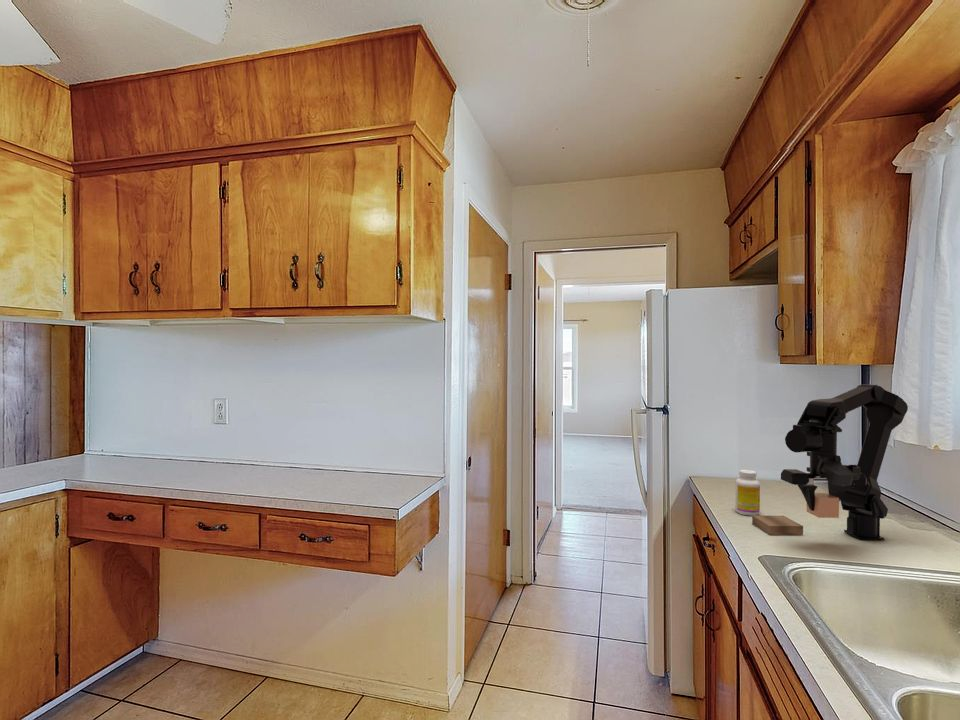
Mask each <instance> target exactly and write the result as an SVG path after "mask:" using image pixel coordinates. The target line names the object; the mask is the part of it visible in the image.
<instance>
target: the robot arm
mask: <svg viewBox="0 0 960 720" xmlns="http://www.w3.org/2000/svg"><path fill="white" fill-rule="evenodd" d="M860 407H863V408H864V409H865V416H866V419H867V420H868V428H867V431H866V434H865V438H864V442H863V445H862V448H861V452H860V455H859V458H858V460H857V461H858V462H857V464H848V465H847V464H842V458H841V456H840V455H837V454H838V453H837V447H838V433H842V432H843V429H842V428H841V427H840V426H838V425H839V424H840V423H842V422H843V421H844V420H845V419H846V416H847V414H848V413H850V412H852V411H854V410H856V409H858V408H860ZM908 407H909V406H908V403H907V402H906V401H905V400H904V399H903V398H902V397H900V395H897V394H895V393H893V392H892V391H888V390H886V389H885V388H883V387H882V386H881V385H878V384H869V383H868V384H866V383H865V384H864V383H863V384H858V385H857V386H856V387H855V388H852V389H850V390H848V391H846V392H843V393H841V394H839V395H836V396H834V397H832V398H831V397H830V398H819V399H813V400H810V401H808V403H807V404H806V407H805V408H804V410H803V412H802V414H801V415H800V418H799V419H798V421H797V423H796V424H793V425H792V430H791V429H790V430H788V432H787V433H786V436H785V438H784V443H785V445H786V447H787V448H788V450H790V451H791V452H793V453H806V456H807V457H809V467H808V466H807V467H806V472H805V471H801V470H799V469H796V468H795V469H791V468H789V469H787V468H786V469H783V470H782V471H781V473H780V480H782V481H783V482H786V483H789V484H791V485H795V486H796V485H797V487H798V488H799V490H800V492H801V494H802V495H803V498H804V500H805V502H806V505H807V504H808V506H809V508H810V510H812V511H814V507H815V493H816V490H817V489H818V486H817V485H815V484H814V483H815V481H818V482H820V481H823V482H824V481H825V482H827V487H828V494H830V495H833V496H835V497H838V498H839V502H840V505H841V508H842V510H843V511H846V512H847V511H848V513H847V514H848V516H847V517H846V529H843V533H845V534H848V535H850V536H852V537H854V538H856V539H858V540H860V541H861V540H862V541H865V540H867V541H868V540H869V541H870V540H871V541H874V540H875V541H885V537H884V536H881V535H880V532H881V530H880V529H881V520H882V519H885V518H886V517H887V516H888V512H889V509H888V506H886V504H885V503H884V501H883V500H882V499H881V495H882V490H881V487H880V485H879V482H878V478H879V474H880V471H881V468H882V464H883V461H884V457H885V454H886V450H887V447H888V444H889V441H890V437H891V433H892V431H893V430H894V429H895V428H897V427H898V426H899V425H901V424H902V422H903V420H904V418H905V416H906V414H907V413H908V409H909V408H908Z"/></svg>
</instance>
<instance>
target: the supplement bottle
mask: <svg viewBox="0 0 960 720" xmlns="http://www.w3.org/2000/svg"><path fill="white" fill-rule="evenodd" d="M738 475H739V477H738V478H737V479H736V480H735V512H736V513H738V514H740V515H743V516H751V517H752V516H759V515H760V513H761V511H760V509H761V508H760V507H761V506H760V505H761V504H760V503H761V501H760V500H761V491H760V489H761V484H760V481H759V480H757V479H756V478H757V472H756V471H755V470H751V469H750V470H748V469H740V470H739V472H738Z"/></svg>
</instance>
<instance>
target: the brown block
mask: <svg viewBox="0 0 960 720" xmlns="http://www.w3.org/2000/svg"><path fill="white" fill-rule="evenodd" d="M751 517H752V519H751V520H752V521H751V525H753V526H754V525H755V526H754V527H756V528H757V527H758V529H759V528H760V529H759V530H761V531H762V530H763V533H765V532H766V534H767V533H768V534H767V535H769V536H804V525H802V524H800V523H798V522H796V521H795V520H792V519H791V518H789V517H788V516H785V515H756V516H751Z"/></svg>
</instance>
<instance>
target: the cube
mask: <svg viewBox="0 0 960 720" xmlns="http://www.w3.org/2000/svg"><path fill="white" fill-rule="evenodd" d="M839 511H840V501H839V498H838V497H835V496H833V495H830V494H829V492H815V507H814V511H812V510H810V508H809V506H808V504H807V503H806V513H809V514H811V515H813V516H815V517H817V518H819V519H820V518H821V519H823V518H824V519H829V518H830V519H831V518H832V519H835V518H836V519H840V512H839Z"/></svg>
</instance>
